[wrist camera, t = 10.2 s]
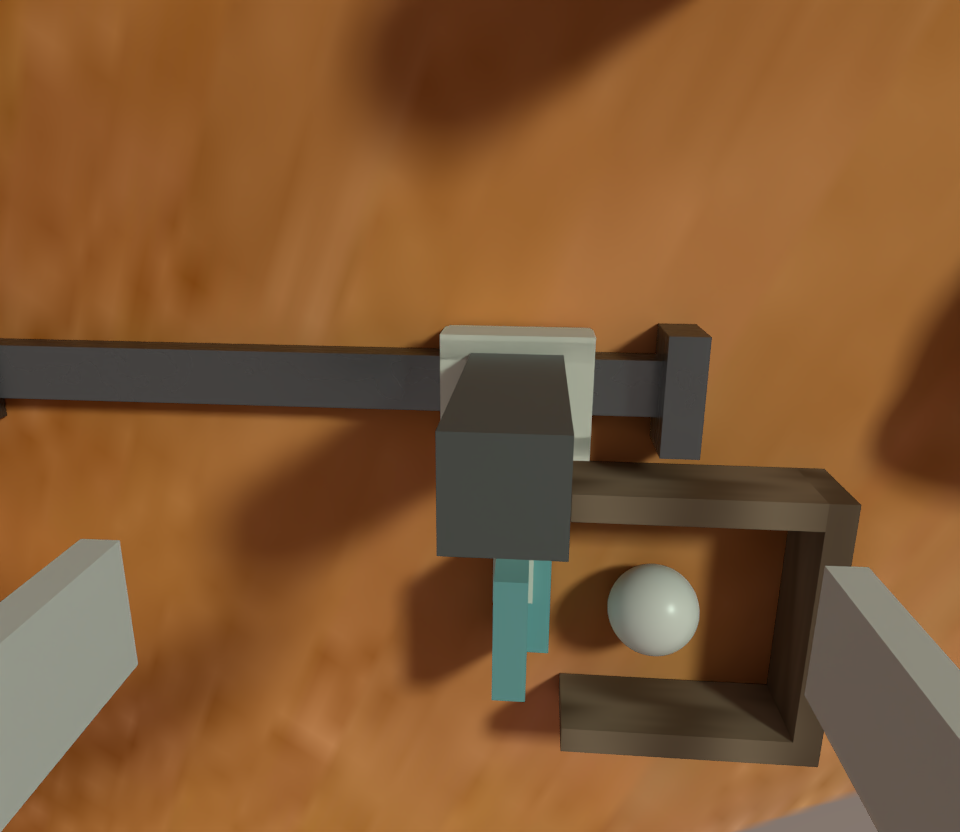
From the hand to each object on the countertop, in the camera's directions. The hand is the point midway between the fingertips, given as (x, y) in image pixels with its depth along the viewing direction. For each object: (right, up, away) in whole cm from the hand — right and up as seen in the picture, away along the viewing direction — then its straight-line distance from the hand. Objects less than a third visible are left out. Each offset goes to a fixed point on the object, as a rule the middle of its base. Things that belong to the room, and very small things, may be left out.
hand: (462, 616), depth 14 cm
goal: (+9, -4, +21) cm, 23 cm away
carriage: (+2, 0, +20) cm, 20 cm away
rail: (-7, +6, +20) cm, 22 cm away
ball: (+8, -5, +19) cm, 21 cm away
